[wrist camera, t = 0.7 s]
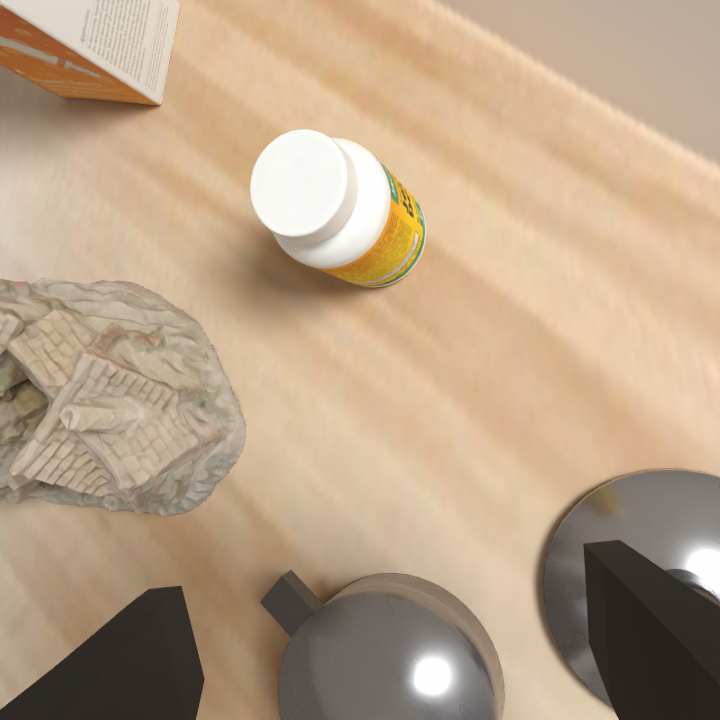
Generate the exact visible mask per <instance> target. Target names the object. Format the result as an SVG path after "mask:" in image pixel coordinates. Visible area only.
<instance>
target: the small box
mask: <svg viewBox="0 0 720 720" xmlns="http://www.w3.org/2000/svg"><path fill="white" fill-rule="evenodd" d="M179 10H180V2H179V1H178V0H0V65H2V66H4V67H6V68H8V69H10V70H11V71H13V72H15V73H17V74H19V75H20V76H22V77H24V78H26V79H28V80H30V81H31V82H33V83H35V84H37V85H39V86H41V87H43V88H44V89H46V90H48V91H50V92H52V93H54V94H56V95H58V96H60V97H62V98H86V99H98V100H110V101H120V102H130V103H140V104H148V105H156V106H159V105H161V104H162V99H163V94H164V88H165V83H166V78H167V73H168V67H169V62H170V57H171V52H172V47H173V43H174V37H175V32H176V27H177V21H178V16H179Z"/></svg>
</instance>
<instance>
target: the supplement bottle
mask: <svg viewBox="0 0 720 720" xmlns="http://www.w3.org/2000/svg"><path fill="white" fill-rule="evenodd" d="M250 197H251V203H252V206H253V208H254V211H255V213H256V215H257V217H258V218H259V220H260V221H261V222H262V223H263V224H264V225H265V226H266V227H267V228H268V229H269V230H271V231H272V233H273V235H274V237H275V239H276V241H277V242H278V244H279V245H280V246H281V248H282V249H283V250H284V251H285V252H286V253H287V254H288V255H289V256H291V257H292V258H294V259H295V260H297V261H299V262H300V263H303V264H305V265H307V266H310V267H312V268H315V269H318V270H320V271H323V272H325V273H328V274H330V275H333V276H335V277H338V278H340V279H343V280H345V281H348V282H350V283H353V284H356V285H359V286H363V287H382V286H387V285H390V284H393V283H395V282H397V281H399V280H401V279H402V278H404V277H405V276H406V275H407V274H409V273H410V272H411V271H412V270H413V268H414V267H415V266H416V264H417V263H418V262H419V260H420V258H421V256H422V254H423V250H424V247H425V243H426V232H427V230H426V221H425V217H424V213H423V211H422V209H421V207H420V205H419V204H418V202H417V201H416V200H415V198H414V197H413V196H412V195H411V194H410V193H409V192H408V191H407V190H406V189H405V188H404V187H403V186H402V185H401V183H400V182H399V181H398V180H397V179H396V178H395V177H394V176H393V175H392V174H391V173H390V172H389V171H388V170H387V169H386V168H385V167H384V165H383V164H382V163H381V162H380V161H379V160H378V159H377V158H376V157H375V156H374V155H373V154H372V153H371V152H369V151H368V150H367V149H365V148H364V147H363V146H361V145H359V144H357V143H355V142H353V141H350V140H347V139H342V138H329V137H327V136H326V135H324V134H322V133H320V132H317V131H313V130H305V129H301V130H293V131H290V132H287V133H285V134H283V135H281V136H279V137H277V138H276V139H275V140H273V141H272V142H271V143H270V144H269V145H268V146H267V147H266V148H265V149H264V150H263V152H262V153H261V154H260V156H259V158H258V159H257V161H256V164H255V166H254V168H253V172H252V176H251V180H250Z"/></svg>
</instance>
